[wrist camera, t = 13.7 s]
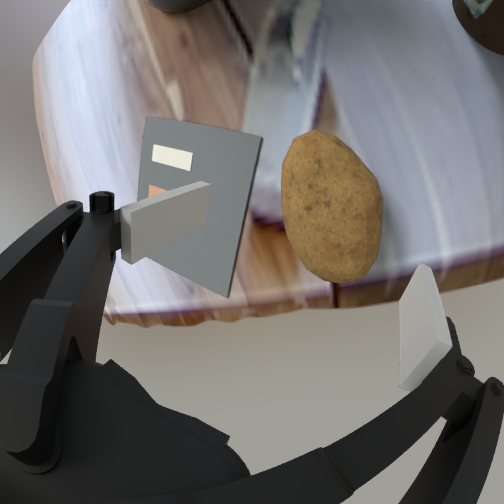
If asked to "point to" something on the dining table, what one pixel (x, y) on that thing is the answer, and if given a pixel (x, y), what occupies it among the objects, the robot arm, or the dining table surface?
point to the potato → (330, 207)
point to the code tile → (220, 198)
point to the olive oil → (483, 21)
